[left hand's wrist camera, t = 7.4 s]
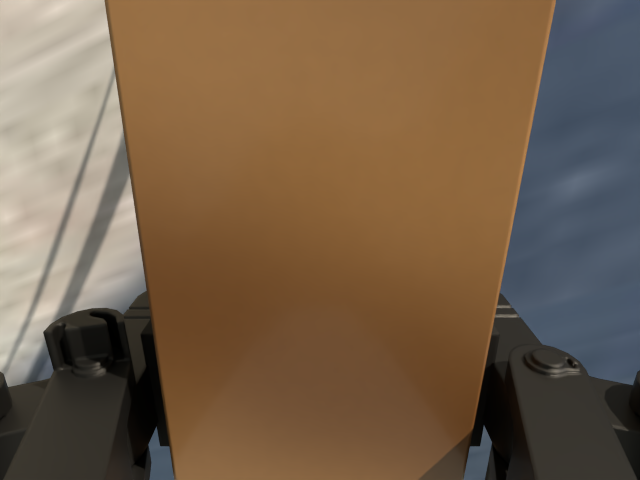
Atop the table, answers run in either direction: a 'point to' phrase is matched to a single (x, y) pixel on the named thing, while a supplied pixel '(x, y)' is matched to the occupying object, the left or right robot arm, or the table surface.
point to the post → (324, 222)
